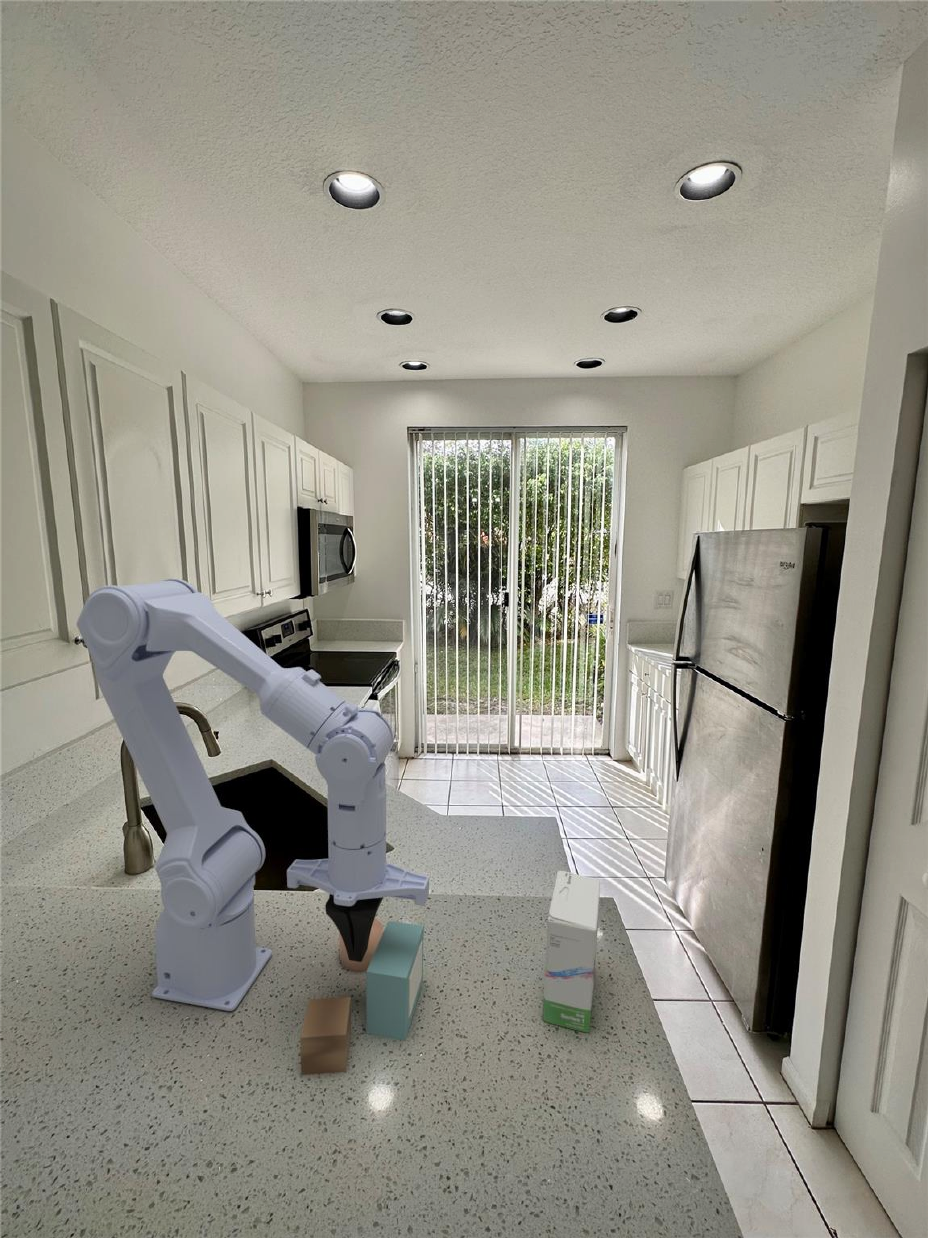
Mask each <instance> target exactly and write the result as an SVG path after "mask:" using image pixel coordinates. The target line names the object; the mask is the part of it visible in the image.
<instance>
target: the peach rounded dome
mask: <svg viewBox="0 0 928 1238" xmlns="http://www.w3.org/2000/svg"><path fill="white" fill-rule="evenodd" d="M383 932H384V928H383V924H382V923H381V922H380V920H378V919H376V917H375V918H374V921H373V925H372V928H371V932H370V937H369V942H368V949H367V951H366V953H365V955H364V958H363V960H362V961H361V962H357V961H351V960H349V958H348V954H347V951H346V947H345V944H344V942H343V939H342V937H341V934H340V932H339V934H338V935H339V937H338V939H339V961H340V960H341V961H340V963H341V965H342V964H343V965H344V966H345V967H346V968H345V967H344V966H343V965H342V966H343V967H344V968H345V969H347V968H348V969H347V970H349V969H350V970H349V971H353V972H363V971H367V969H368V967H369V964H370V962H371V960H372V957H373V955H374V953H375V950H376V948H377V946H378V943H379V941H380V939H381V936H382V934H383Z"/></svg>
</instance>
